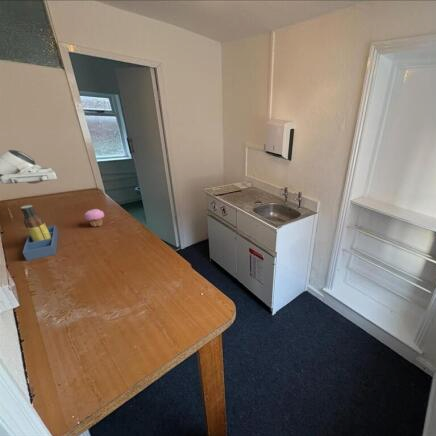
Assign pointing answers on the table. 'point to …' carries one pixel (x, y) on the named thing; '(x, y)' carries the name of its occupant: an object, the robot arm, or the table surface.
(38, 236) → the sauce bottle
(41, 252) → the tray
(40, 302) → the table surface
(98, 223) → the cupcake
